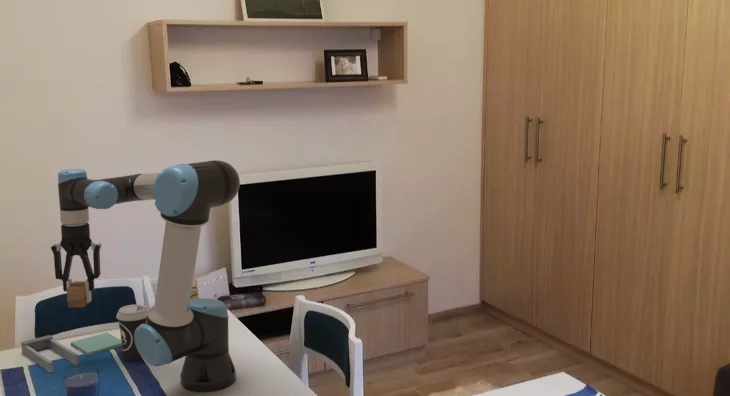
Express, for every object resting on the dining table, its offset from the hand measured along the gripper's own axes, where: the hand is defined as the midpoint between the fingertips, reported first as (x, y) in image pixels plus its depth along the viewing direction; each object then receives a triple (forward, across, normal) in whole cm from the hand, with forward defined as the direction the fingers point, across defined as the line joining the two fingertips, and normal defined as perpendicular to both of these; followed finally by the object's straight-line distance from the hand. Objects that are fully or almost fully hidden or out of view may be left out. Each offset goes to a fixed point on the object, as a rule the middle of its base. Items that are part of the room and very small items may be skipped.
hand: (79, 301), depth 205 cm
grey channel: (+19, +11, -4) cm, 22 cm away
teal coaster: (+19, -1, -13) cm, 23 cm away
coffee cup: (+19, -14, -4) cm, 24 cm away
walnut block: (0, 0, 0) cm, 1 cm away
